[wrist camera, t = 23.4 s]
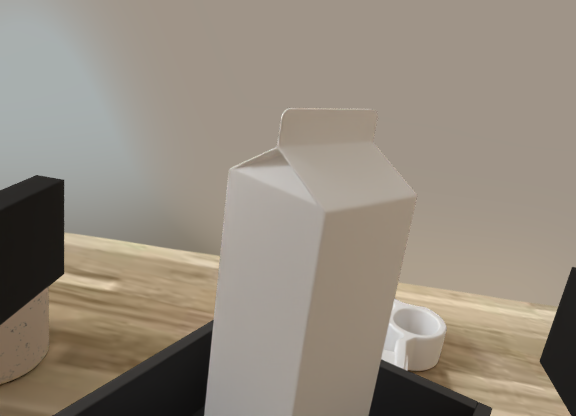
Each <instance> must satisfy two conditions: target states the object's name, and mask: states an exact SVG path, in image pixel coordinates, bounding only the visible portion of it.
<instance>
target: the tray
mask: <svg viewBox="0 0 576 416" xmlns="http://www.w3.org/2000/svg"><path fill="white" fill-rule="evenodd" d="M213 322H214V320H212V321H211V322H209V323H207V324H206V325H204V326H202V327H201V328H199V329H197V330H196V331H194V332H192V333H191V334H189V335H187V336H186V337H184V338H182V339H181V340H179V341H177V342H175V343H174V344H172V345H170V346H169V347H167V348H165V349H164V350H162V351H160V352H159V353H157V354H155V355H154V356H152V357H150V358H149V359H147V360H145V361H144V362H142V363H140V364H139V365H137V366H135V367H134V368H132V369H130V370H128V371H127V372H125V373H123V374H122V375H120V376H118V377H117V378H115V379H113V380H112V381H110V382H108V383H107V384H105V385H103V386H102V387H100V388H98V389H97V390H95V391H93V392H92V393H90V394H88V395H87V396H85V397H83V398H82V399H80V400H78V401H76V402H75V403H73V404H71V405H70V406H68V407H66V408H65V409H63V410H61V411H60V412H58V413H56V414H55V415H53V416H204V412H205V402H206V392H207V382H208V372H209V362H210V352H211V342H212V332H213ZM491 411H492V408H491V407H489V406H486V405H484V404H482V403H480V402H477V401H475V400H473V399H471V398H468V397H466V396H464V395H461V394H459V393H457V392H455V391H452V390H450V389H448V388H446V387H443V386H441V385H439V384H436V383H434V382H432V381H430V380H427V379H425V378H423V377H421V376H418V375H416V374H414V373H411V372H409V371H407V370H405V369H402V368H400V367H398V366H396V365H393V364H391V363H389V362H386V361H384V360H382V359H381V362H380V366H379V371H378V375H377V380H376V384H375V389H374V393H373V398H372V402H371V407H370V411H369V416H490V414H491Z"/></svg>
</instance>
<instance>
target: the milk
mask: <svg viewBox="0 0 576 416" xmlns="http://www.w3.org/2000/svg"><path fill="white" fill-rule="evenodd" d="M377 117H378V116H377V112H376V110H374V109H320V108H319V109H318V108H315V109H314V108H287V109H286V110H285V111H284V112H283V114H282V116H281V120H280V128H279V135H278V143H277V147H275V148H273V149H271V150H269V151H267V152H264V153H262V154H260V155H258V156H256V157H254V158H251V159H249V160H247V161H245V162H243V163H240V164H238V165H236V166H234V167H232V168H230V169H229V174H228V183H227V193H226V194H227V195H226V203H225V213H224V223H223V233H222V243H221V253H220V263H219V273H218V283H217V292H216V302H215V312H214V322H213V332H212V342H211V352H210V362H209V372H208V382H207V392H206V402H205V412H204V416H369V411H370V407H371V402H372V398H373V393H374V389H375V384H376V380H377V375H378V371H379V366H380V362H381V357H382V353H383V348H384V344H385V339H386V335H387V330H388V325H389V321H390V316H391V312H392V307H393V303H394V298H395V294H396V289H397V285H398V280H399V275H400V271H401V266H402V262H403V257H404V253H405V249H406V244H407V240H408V235H409V231H410V226H411V222H412V217H413V213H414V208H415V203H416V199H417V195H416V193H415V192H414V191H413V189H412V188H411V187H410V186H409V184H408V183H407V182H406V181H405V180H404V179H403V178H402V176H401V175H400V174H399V173H398V172H397V170H396V169H395V168H394V166H393V165H392V164H391V163H390V162H389V160H388V159H387V158H386V157H385V156H384V155H383V153H382V152H381V151H380V150H379V149H378V147H377V146H376V145H375V144H374V134H375V128H376V123H377Z"/></svg>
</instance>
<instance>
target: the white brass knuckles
mask: <svg viewBox="0 0 576 416" xmlns="http://www.w3.org/2000/svg"><path fill="white" fill-rule="evenodd" d="M446 330H447V328H446V324H445V322H444V321H443V319H442V318H441V317H440V316H439V315H438V314H436V313H435V312H433V311H432V310H430V309H428V308H426V307H422V306H415V305H411V304H407V303H404V302H401V301H399V300H397V299H395V298H394V303H393V307H392V312H391V316H390V321H389V325H388V330H387V335H386V339H385V344H384V348H383V353H382V357H381V359H382V360H384V361H386V362H389V363H391V364H393V365H396V366H398V367H400V368H402V369H405V370H407V371H424V370H428V369H431V368H432V367H434V366H435V365H436V364H437V363H438V361H439V358H440V354H441V350H442V346H443V342H444V339H445V335H446Z"/></svg>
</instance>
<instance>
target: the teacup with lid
mask: <svg viewBox="0 0 576 416" xmlns="http://www.w3.org/2000/svg"><path fill="white" fill-rule="evenodd" d="M48 348H49V295H48V287H47V288H46V289H45V290H43V291H42V292H41V293H40V294H38V295H37V296H36V297H35V298H33V299H32V300H31V301H30V302H29V303H27V304H26V305H25V306H24V307H22V308H21V309H20V310H19V311H17V312H16V313H15V314H14V315H12V316H11V317H10V318H9V319H7V320H6V321H5V322H4V323H3V324H1V325H0V384H3V383H6V382H9V381H11V380H14V379H16V378H18V377H20V376H22V375H24V374H26V373H27V372H29V371H30V370H32V369H33V368H34V367H36V366H37V365H38V364H39V363H40V362H41V361H42V360H43V358H44V357H45V355H46V353H47V351H48Z"/></svg>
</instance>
